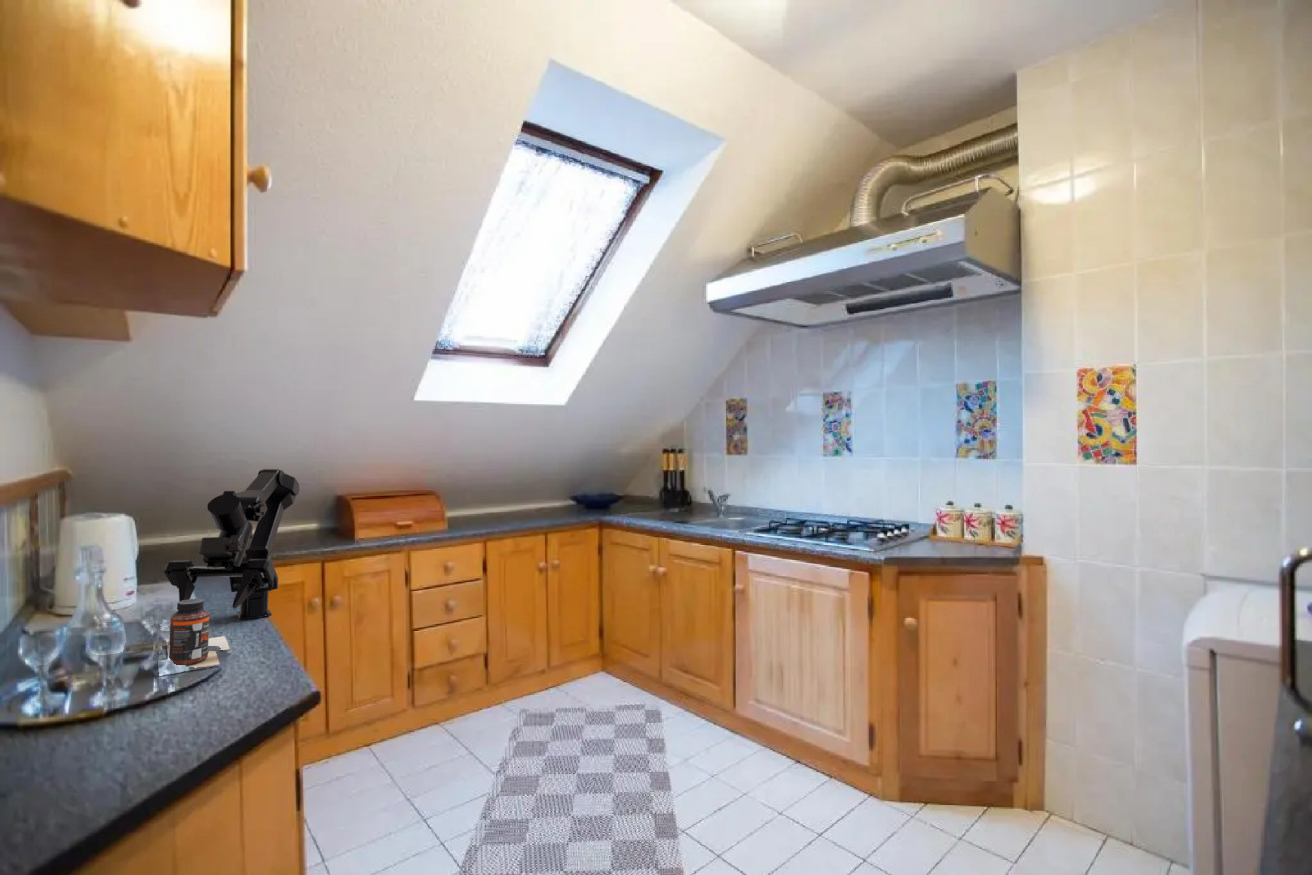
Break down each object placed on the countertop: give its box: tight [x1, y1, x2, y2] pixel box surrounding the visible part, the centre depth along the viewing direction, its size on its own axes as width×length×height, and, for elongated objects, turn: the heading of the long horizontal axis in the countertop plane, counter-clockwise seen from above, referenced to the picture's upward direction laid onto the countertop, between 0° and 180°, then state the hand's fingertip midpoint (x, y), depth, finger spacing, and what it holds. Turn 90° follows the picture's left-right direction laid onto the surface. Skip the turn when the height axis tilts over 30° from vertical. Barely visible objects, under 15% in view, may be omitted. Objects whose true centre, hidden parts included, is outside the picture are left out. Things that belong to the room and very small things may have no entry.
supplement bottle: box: [169, 598, 210, 665], centre depth 119 cm, size 6×6×11 cm
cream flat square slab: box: [208, 635, 231, 651], centre depth 128 cm, size 10×10×1 cm
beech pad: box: [186, 651, 221, 668], centre depth 118 cm, size 9×9×1 cm
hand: (207, 608), depth 126 cm, fingers open, 9 cm apart
